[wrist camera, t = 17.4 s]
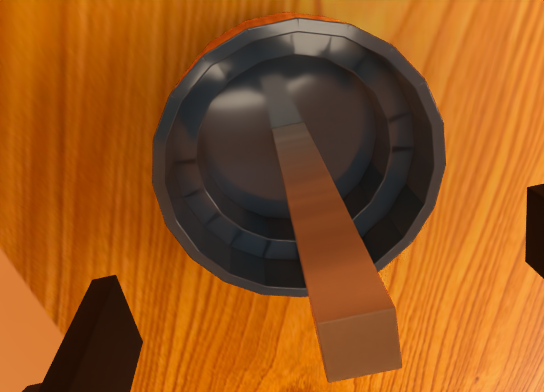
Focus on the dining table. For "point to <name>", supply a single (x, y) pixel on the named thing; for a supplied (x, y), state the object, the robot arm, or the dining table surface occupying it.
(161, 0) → the dining table surface
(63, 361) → the robot arm
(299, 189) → the stirring stick
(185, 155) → the mixing bowl
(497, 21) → the dining table surface
